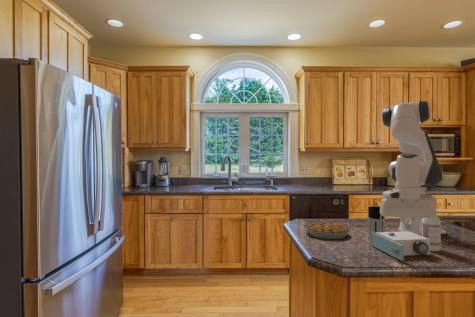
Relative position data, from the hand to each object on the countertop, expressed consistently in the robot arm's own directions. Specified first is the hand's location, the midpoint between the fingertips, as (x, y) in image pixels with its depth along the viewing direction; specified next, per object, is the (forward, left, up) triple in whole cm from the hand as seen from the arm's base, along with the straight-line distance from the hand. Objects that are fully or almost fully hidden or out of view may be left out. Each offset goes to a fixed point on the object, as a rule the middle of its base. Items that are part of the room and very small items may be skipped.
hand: (407, 228), depth 120 cm
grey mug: (-5, -29, -12) cm, 32 cm away
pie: (+17, -40, -13) cm, 45 cm away
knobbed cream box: (-4, -9, -12) cm, 15 cm away
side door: (+5, -7, -12) cm, 15 cm away
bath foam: (-18, -10, -12) cm, 24 cm away
